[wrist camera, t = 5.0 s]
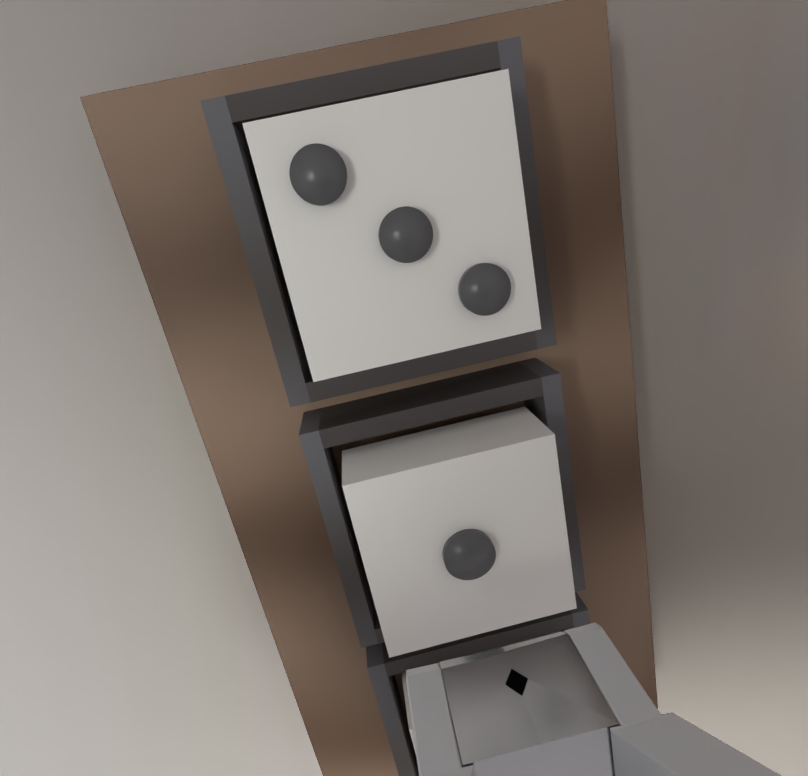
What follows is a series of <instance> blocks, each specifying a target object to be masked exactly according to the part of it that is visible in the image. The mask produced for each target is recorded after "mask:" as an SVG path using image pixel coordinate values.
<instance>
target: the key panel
mask: <svg viewBox="0 0 808 776" xmlns="http://www.w3.org/2000/svg"><path fill="white" fill-rule="evenodd" d="M505 69H508V70H509V78H510V86H511V94H512V102H513V110H514V117H515V125H516V133H517V141H518V149H519V157H520V165H521V173H522V180H523V188H524V196H525V204H526V212H527V220H528V228H529V236H530V243H531V251H532V259H533V267H534V275H535V283H536V291H537V299H538V306H539V314H540V322H541V329H539V330H535V331H531V332H526V333H522V334H518V335H514V336H509V337H505V338H501V339H496V340H492V341H488V342H484V343H479V344H475V345H471V346H466V347H462V348H458V349H454V350H449V351H445V352H441V353H436V354H432V355H428V356H424V357H419V358H415V359H411V360H406V361H402V362H398V363H393V364H389V365H385V366H381V367H376V368H372V369H368V370H363V371H359V372H355V373H351V374H346V375H342V376H338V377H333V378H329V379H325V380H321V381H316V382H313V379H312V375H311V372H310V368H309V364H308V361H307V357H306V354H305V350H304V346H303V343H302V339H301V335H300V332H299V328H298V324H297V321H296V317H295V314H294V310H293V306H292V303H291V299H290V295H289V292H288V288H287V284H286V281H285V277H284V274H283V270H282V266H281V263H280V259H279V255H278V252H277V248H276V245H275V241H274V237H273V234H272V230H271V226H270V223H269V219H268V215H267V212H266V208H265V205H264V201H263V197H262V194H261V190H260V186H259V183H258V179H257V175H256V172H255V168H254V165H253V161H252V157H251V154H250V150H249V146H248V143H247V139H246V136H245V132H244V128H243V125H242V123H246V122H251V121H256V120H261V119H266V118H271V117H276V116H280V115H285V114H290V113H295V112H300V111H305V110H310V109H315V108H319V107H324V106H329V105H334V104H339V103H344V102H349V101H354V100H358V99H363V98H368V97H373V96H378V95H383V94H388V93H393V92H397V91H402V90H407V89H412V88H417V87H422V86H427V85H432V84H437V83H441V82H446V81H451V80H456V79H461V78H466V77H471V76H476V75H480V74H485V73H490V72H495V71H500V70H505ZM80 98H81V101H82V104H83V107H84V109H85V112H86V115H87V118H88V121H89V123H90V126H91V129H92V132H93V135H94V137H95V140H96V143H97V146H98V149H99V151H100V154H101V157H102V160H103V162H104V165H105V168H106V171H107V174H108V176H109V179H110V182H111V185H112V188H113V190H114V193H115V196H116V199H117V202H118V204H119V207H120V210H121V213H122V216H123V218H124V221H125V224H126V227H127V229H128V232H129V235H130V238H131V241H132V243H133V246H134V249H135V252H136V255H137V257H138V260H139V263H140V266H141V269H142V271H143V274H144V277H145V280H146V283H147V285H148V288H149V291H150V294H151V297H152V299H153V302H154V305H155V308H156V310H157V313H158V316H159V319H160V322H161V324H162V327H163V330H164V333H165V336H166V338H167V341H168V344H169V347H170V350H171V352H172V355H173V358H174V361H175V364H176V366H177V369H178V372H179V375H180V378H181V380H182V383H183V386H184V389H185V391H186V394H187V397H188V400H189V403H190V405H191V408H192V411H193V414H194V417H195V419H196V422H197V425H198V428H199V431H200V433H201V436H202V439H203V442H204V445H205V447H206V450H207V453H208V456H209V458H210V461H211V464H212V467H213V470H214V472H215V475H216V478H217V481H218V484H219V486H220V489H221V492H222V495H223V498H224V500H225V503H226V506H227V509H228V512H229V514H230V517H231V520H232V523H233V526H234V528H235V531H236V534H237V537H238V539H239V542H240V545H241V548H242V551H243V553H244V556H245V559H246V562H247V565H248V567H249V570H250V573H251V576H252V579H253V581H254V584H255V587H256V590H257V593H258V595H259V598H260V601H261V604H262V607H263V609H264V612H265V615H266V618H267V620H268V623H269V626H270V629H271V632H272V634H273V637H274V640H275V643H276V646H277V648H278V651H279V654H280V657H281V660H282V662H283V665H284V668H285V671H286V674H287V676H288V679H289V682H290V685H291V687H292V690H293V693H294V696H295V699H296V701H297V704H298V707H299V710H300V713H301V715H302V718H303V721H304V724H305V727H306V729H307V732H308V735H309V738H310V741H311V743H312V746H313V749H314V752H315V755H316V757H317V760H318V763H319V766H320V768H321V771H322V774H323V776H419V771H418V764H417V757H416V753H415V750H414V746H413V742H412V739H411V735H410V731H409V726H408V719H407V711H406V704H405V697H404V690H403V682H402V675H401V673H404V672H406V670H408V669H413V668H418V667H422V666H427V665H431V664H436V663H439V662H441V661H445V660H450V659H454V658H459V657H463V656H468V655H471V654H475V653H479V652H483V651H487V650H490V649H494V648H498V647H502V646H505V645H509V644H513V643H517V642H520V641H524V640H528V639H532V638H535V637H539V636H543V635H547V634H551V633H554V632H558V631H559V632H561V631H562V632H564V631H565V630H569V629H572V628H576V627H580V626H584V625H587V624H591V623H595V622H596V623H597V624H599V625H600V626H601V627H602V628H603V629H604V631H605V632H606V634H607V635H608V637H609V638H610V640H611V641H612V643H613V644H614V646H615V647H616V649H617V650H618V652H619V653H620V655H621V656H622V658H623V659H624V660H625V662H626V663H627V665H628V666H629V668H630V669H631V671H632V672H633V674H634V675H635V677H636V678H637V680H638V681H639V683H640V684H641V686H642V687H643V688H644V690H645V691H646V693H647V694H648V696H649V697H650V699H651V700H652V702H653V703H654V705H655V706H656V708H657V709H658V705H657V692H656V678H655V664H654V651H653V637H652V623H651V609H650V596H649V582H648V568H647V554H646V541H645V527H644V513H643V499H642V486H641V472H640V458H639V444H638V431H637V417H636V403H635V389H634V376H633V362H632V348H631V335H630V321H629V307H628V293H627V280H626V266H625V252H624V238H623V225H622V211H621V197H620V183H619V170H618V156H617V142H616V128H615V115H614V101H613V87H612V73H611V60H610V46H609V32H608V18H607V5H606V0H566V1H561V2H556V3H551V4H546V5H541V6H535V7H530V8H525V9H520V10H515V11H510V12H505V13H500V14H495V15H490V16H485V17H480V18H475V19H470V20H465V21H460V22H455V23H450V24H445V25H440V26H435V27H430V28H425V29H420V30H415V31H410V32H405V33H400V34H395V35H390V36H385V37H380V38H375V39H370V40H365V41H360V42H355V43H350V44H345V45H339V46H334V47H329V48H324V49H319V50H314V51H309V52H304V53H299V54H294V55H289V56H284V57H279V58H274V59H269V60H264V61H259V62H254V63H249V64H244V65H239V66H234V67H229V68H224V69H219V70H214V71H209V72H204V73H199V74H194V75H189V76H184V77H179V78H174V79H169V80H164V81H159V82H154V83H149V84H144V85H138V86H133V87H128V88H123V89H118V90H113V91H108V92H103V93H98V94H93V95H88V96H83V97H80ZM521 407H526V408H527V409H528V410H529V411H530V412H531V413H532V414H534V415H535V416H536V417H537V418H538V419H539V420H540V421H541V422H542V423H543V424H544V425H545V426H547V427H548V428H549V429H550V430H551V431H552V432H553V433H554V434H555V440H556V448H557V456H558V464H559V472H560V480H561V488H562V495H563V503H564V511H565V519H566V527H567V535H568V543H569V550H570V558H571V566H572V574H573V582H574V590H575V598H576V606H577V608H576V609H572V610H569V611H565V612H561V613H557V614H553V615H550V616H546V617H542V618H538V619H535V620H531V621H527V622H523V623H519V624H516V625H512V626H508V627H504V628H500V629H497V630H493V631H489V632H485V633H481V634H478V635H474V636H470V637H466V638H462V639H459V640H455V641H451V642H447V643H443V644H440V645H436V646H432V647H428V648H425V649H421V650H417V651H413V652H409V653H406V654H402V655H398V656H394V657H390V658H389V655H388V651H387V648H386V644H385V641H384V637H383V633H382V630H381V626H380V622H379V619H378V615H377V611H376V608H375V604H374V601H373V597H372V593H371V590H370V586H369V582H368V579H367V575H366V572H365V568H364V564H363V561H362V557H361V553H360V550H359V546H358V542H357V539H356V535H355V532H354V528H353V524H352V521H351V517H350V513H349V510H348V506H347V502H346V499H345V495H344V492H343V488H342V450H346V449H351V448H355V447H359V446H363V445H367V444H371V443H376V442H380V441H384V440H388V439H392V438H396V437H400V436H405V435H409V434H413V433H417V432H421V431H425V430H429V429H434V428H438V427H442V426H446V425H450V424H454V423H459V422H463V421H467V420H471V419H475V418H479V417H483V416H488V415H492V414H496V413H500V412H504V411H508V410H512V409H517V408H521Z"/></svg>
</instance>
